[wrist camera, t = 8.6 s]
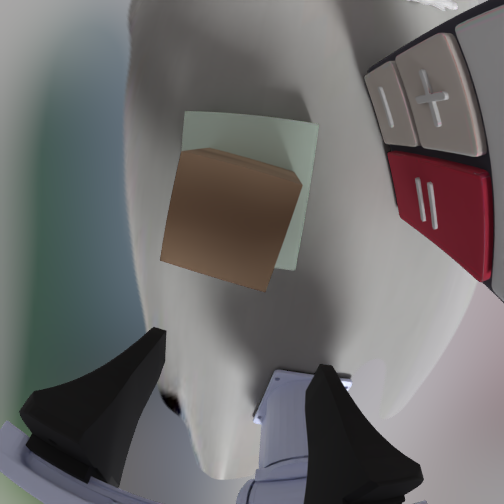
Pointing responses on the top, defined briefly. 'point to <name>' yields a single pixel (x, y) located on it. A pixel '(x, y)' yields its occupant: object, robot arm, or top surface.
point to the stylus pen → (439, 3)
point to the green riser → (261, 155)
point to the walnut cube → (229, 216)
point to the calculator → (450, 136)
